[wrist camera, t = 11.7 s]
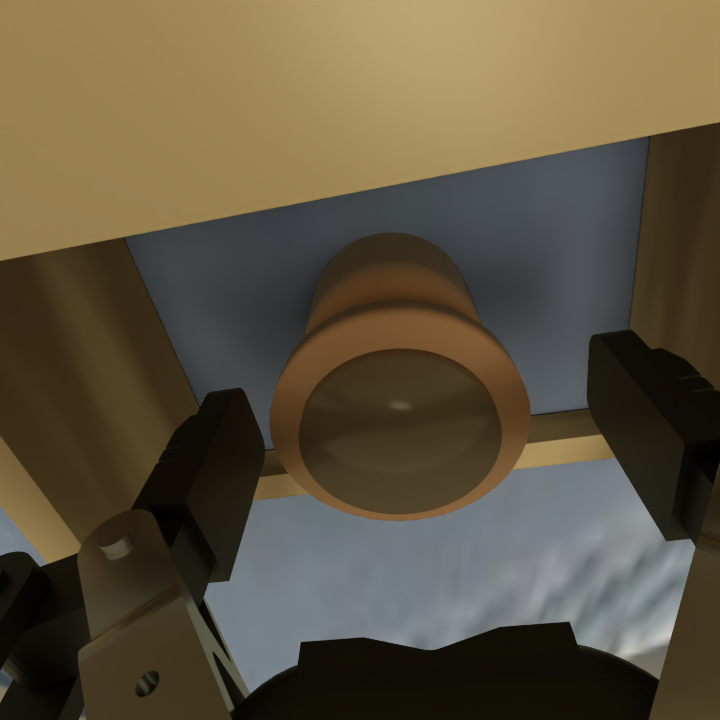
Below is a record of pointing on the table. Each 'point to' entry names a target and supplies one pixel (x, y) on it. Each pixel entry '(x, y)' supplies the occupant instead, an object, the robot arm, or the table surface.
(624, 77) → the lid
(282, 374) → the clay pot
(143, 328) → the open wooden frame
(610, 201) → the table surface
